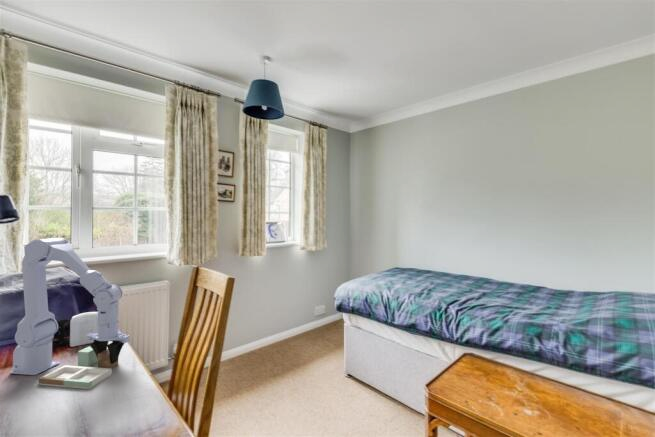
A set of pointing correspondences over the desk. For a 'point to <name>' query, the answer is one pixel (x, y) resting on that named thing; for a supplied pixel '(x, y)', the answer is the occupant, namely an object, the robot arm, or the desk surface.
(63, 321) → the webcam
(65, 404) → the desk surface
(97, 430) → the desk surface
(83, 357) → the sage block
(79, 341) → the photo printer
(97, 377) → the slot board
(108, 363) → the walnut block
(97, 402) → the desk surface
